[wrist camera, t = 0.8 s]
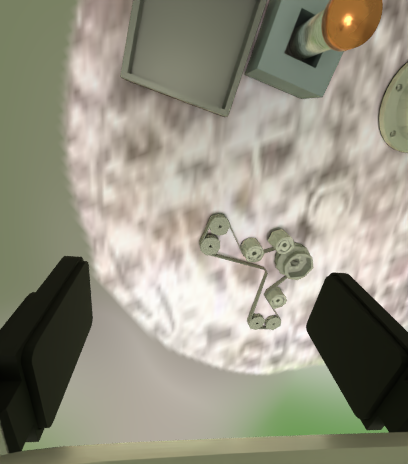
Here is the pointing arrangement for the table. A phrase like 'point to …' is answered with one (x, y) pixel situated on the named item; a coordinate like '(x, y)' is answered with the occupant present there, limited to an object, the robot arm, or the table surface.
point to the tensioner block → (282, 65)
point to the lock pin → (335, 28)
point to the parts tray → (191, 48)
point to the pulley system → (287, 262)
